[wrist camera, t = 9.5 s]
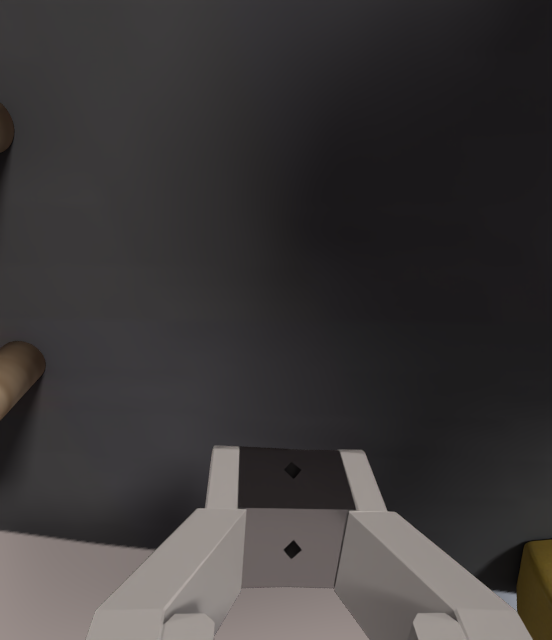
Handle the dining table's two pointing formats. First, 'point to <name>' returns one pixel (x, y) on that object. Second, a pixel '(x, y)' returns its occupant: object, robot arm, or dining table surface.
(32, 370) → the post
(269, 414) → the dining table surface
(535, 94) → the dining table surface
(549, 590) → the flower pot
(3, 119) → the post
